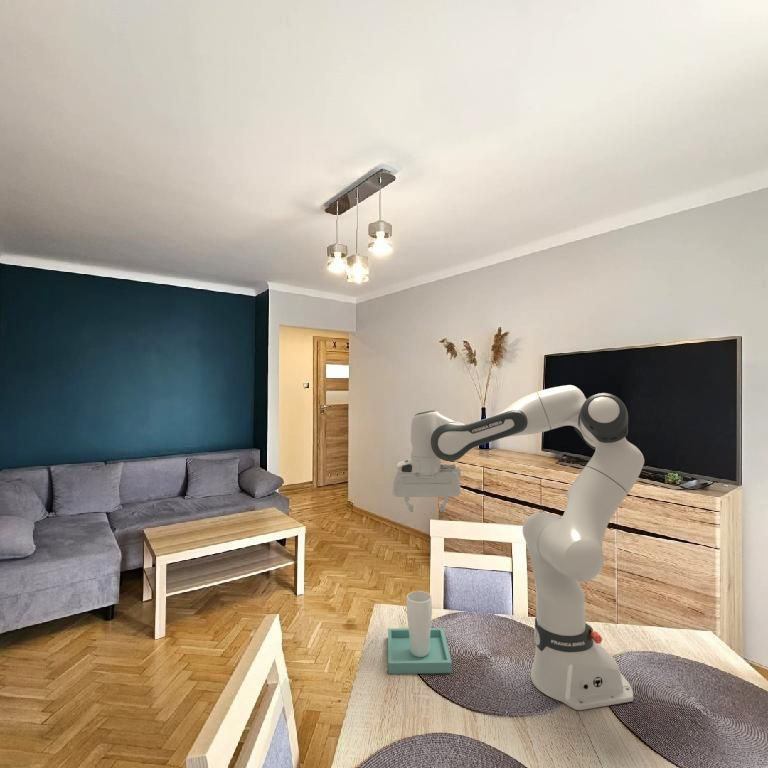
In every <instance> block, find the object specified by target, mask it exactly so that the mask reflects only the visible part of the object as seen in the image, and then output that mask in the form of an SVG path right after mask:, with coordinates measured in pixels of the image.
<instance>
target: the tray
mask: <svg viewBox="0 0 768 768" xmlns="http://www.w3.org/2000/svg"><path fill="white" fill-rule="evenodd" d="M387 665H388V666H387V667H388V671H387V672H388V675H389V674H390V675H391V674H393V675H394V674H395V675H396V674H400V675H401V674H403V675H405V674H453V666H452V665H453V663H452V657H451V654H450V650H449V646H448V641H447V638H446V633H445V630H444V628H443V627H431V633H430V652H429V654H428V655H427V656H425V657H416V656H414V655H412V653H411V652H410V639H409V628H408V627H405V628H403V627H402V628H387Z"/></svg>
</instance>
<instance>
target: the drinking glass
mask: <svg viewBox="0 0 768 768" xmlns="http://www.w3.org/2000/svg"><path fill="white" fill-rule="evenodd" d="M432 602H433V601H432V595H431V594H430V593H428V592H427V591H422V590H415V591H411V592H409V593H408V594H407V595H406V615H407V616H406V617H407V628H409V639H410V652H411V653H412V655H414V656H416V657H425V656H427V655H428V654H429V652H430V633H431V628H432V615H433V603H432Z"/></svg>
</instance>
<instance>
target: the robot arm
mask: <svg viewBox="0 0 768 768" xmlns="http://www.w3.org/2000/svg"><path fill="white" fill-rule="evenodd" d="M410 426H411V427H410V442H411V451H410V458H408V459H405V460H402V461H399V462H398V463H396V472H395V474H394V476H393V480H392V495H393V497H395V498H404V499H403V500H404V502H405V504H406V505H407V511H408V513H413V512H414V504H410V498H421V497H422V498H431V497H432V498H435V497H436V498H437V497H438V498H443V501H442V503H441V504H439V505H438V507H439V512H443V513H444V512H446V505H447V504H448V502H449V497H450V498H452V497H453V498H454V497H455V498H456V497H459V496H460V495H461V483H460V478H461V475H462V473H461V472H462V471H461V468H460V467H459V466H457V465H456V464H442V463H441V462H442V461H444V462H455V461H457V460H459V459H461V458H463V456H465V454H466V453H468V452H469V451H470V450H472V449H473V448H477V447H479V446H481V445H482V446H483V445H485V444H488V443H490V442H494V441H497V440H500V439H504V438H509V437H517V436H526V435H527V436H528V435H535V434H539V433H545V432H549V431H550V430H551V431H552V430H554V429H558V428H562V427H565V426H571V427H573V428H574V431H575V432H576V433H577V435H578V436H579V437H580V438H581V439H582V441H583V442H584V443H585V444H586V445H587V446H589V447H590V448H591V449H593V450H595V451H594V453H593V455H592V457H591V459H590V460H589V461H588V462H587V463H586V465H585V466H584V468H583V469H582V470H581V472H579V474H578V476H577V477H576V478H575V480H574V481H573V482H572V484H571V485H570V486H569V487H568V489H567V492H566V497H567V501H566V502H567V503H566V506H565V510H564V512H563V514H562V517H559V516H557V515H555V514H552V513H548V512H535V513H532V514H530V515H529V516H528V517H527V518H526V519H525V521H524V522H523V525H522V535H523V538H524V541H525V543H526V547H527V551H528V554H529V560H530V566H531V570H532V575H533V579H534V585H535V587H534V589H535V600H536V601H535V604H536V606H535V607H536V609H535V611H536V612H535V613H536V617H534V629H533V630H534V631H533V633H534V636H533V637H534V642H535V652H534V653H535V654H534V659H533V663H532V668H531V671H530V680H531V682H532V684H533V686H534V687H536V689H538V691H540V692H541V693H543V694H544V695H546V696H548V697H549V698H552V699H554V700H556V701H559V702H561V703H564V704H565V705H567V706H568V707H570V708H571V709H573V710H576V711H583V710H584V711H585V710H589V709H595V708H601V707H605V706H606V707H607V706H611V705H618V704H624V703H630V702H633V701H634V698H635V697H634V696H635V695H634V690H633V688H632V686H631V684H630V683H629V681H628V680H627V679H626V677H625V676H624V675H623V674H622V673H621V670H620V667H619V665H618V663H617V661H616V660H615V658H614V656H612V654H611V653H610V652H609V651H608V650H607V649H606V648H605V647H603V646H602V645H601V643H602V642H603V637H602V636H601V634H599V632H598V631H595V630H594V629H593V628H592V626H591V625H590V624H588V623H587V622H586V597H585V592H584V589H583V587H582V585H581V583H580V582H583V583H584V582H585V583H586V582H590V581H592V580H593V579H595V578H597V577H598V576H599V574H600V573H601V572H602V569H603V566H604V563H605V556H604V553H603V540H604V537H605V533H606V531H607V527H608V525H609V523H610V521H611V519H612V517H613V516H614V514H615V513H616V511H617V510H618V509H619V507H620V506H621V505H622V503H623V501H624V500H625V499H626V497H627V496H628V494H629V493H630V492H631V491H632V488H633V487H634V485H635V483H636V482H637V480H638V478H639V477H640V474H641V472H642V470H643V468H644V465H645V458H644V455H643V453H642V452H641V450H640V449H639V448H638V447H637V446H636V445H634V444H633V443H631V442H630V441H628V439H627V438H626V437H627V436H628V433H629V412H628V409H627V407H626V405H625V403H624V402H623V400H621V398H619V397H618V396H616V395H614V394H611V393H607V392H601V393H600V392H598V393H597V394H593V395H591V396H589V397H588V398H587V397H586V396H585V394H584V393H583V391H582V390H581V389H580V388H578V387H577V386H575V385H572V384H567V385H560V386H554V387H550V388H546V389H542V390H539V391H535V392H533V393H530V394H528V395H525V396H523V397H521V398H519V399H517V400H516V401H513V403H511V404H510V405H509V406H507V407H506V408H505V409H503V410H502V411H500V412H499V413H497V414H495V415H492V416H489V417H487V418H484V419H480V420H477V421H474V422H470V423H468V424H465V423H463V422H460V421H457V420H456V421H455V420H453V419H450V418H449V417H446V416H444V415H443V414H441V413H439V412H438V411H437V410H427V411H422V412H417V413H416V414H415V415H413V417H412V420H411V425H410ZM441 460H442V461H441Z"/></svg>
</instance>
